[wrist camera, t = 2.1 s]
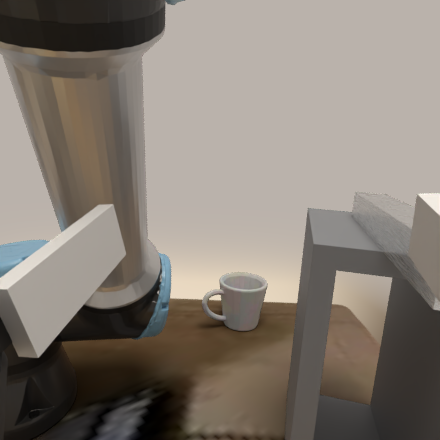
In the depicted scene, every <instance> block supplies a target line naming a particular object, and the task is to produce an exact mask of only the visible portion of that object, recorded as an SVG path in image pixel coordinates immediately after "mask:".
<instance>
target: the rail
mask: <svg viewBox="0 0 440 440" xmlns="http://www.w3.org/2000/svg"><path fill="white" fill-rule="evenodd" d="M414 212H415V207H413V206H411V205H409V204H406V203H404V202H402V201H400V200H397V199H395V198H393V197H391V196H388V195H386V194H375V193H362V192H355V196H354V204H353V210H352V217H353V218H354V219H355V220H356V221H357V222H358V224H359V225H360V226H361V227H362V228H363V229H364V230H365V232H366V233H367V234H368V235H369V236H370V237H371V239H372V240H373V241H374V242H375V243H376V244H377V245H378V247H379V248H380V249H381V250H382V251H383V252H384V254H385V255H386V256H387V257H388V258H389V259H390V260H391V262H392V263H393V264H394V265H395V266H396V267H397V268H398V270H399V271H400V272H401V273H402V274H403V275H404V277H405V278H406V279H407V280H408V281H409V282H410V283H411V285H412V286H413V287H414V288H415V289H416V290H417V292H418V293H419V294H420V295H421V296H422V297H423V298H424V300H425V301H426V302H427V303H428V304H429V305H430V306H431V308H432V309H433V310H440V303H439V301H438V300H437V298H436V297H435V295H434V293H433V292H432V290H431V289H430V287H429V286H428V284H427V283H426V281H425V280H424V278H423V277H422V275H421V274H420V272H419V271H418V269H417V268H416V266H415V264H414V263H413V261H412V260H411V258H410V257H409V255H408V251H409V244H410V238H411V231H412V225H413V218H414Z"/></svg>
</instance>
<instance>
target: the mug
mask: <svg viewBox="0 0 440 440" xmlns="http://www.w3.org/2000/svg"><path fill="white" fill-rule="evenodd" d="M267 285H268V284H267V281H266V280H265V279H264V278H262V277H260V276H258V275H255V274H251V273H244V272H235V273H228V274H225V275H223V276H222V277H221V278H220V290H218V289H216V290H212V291H210V292H208V293H207V294H206V295H205V296H204V298H203V301H202V307H203V310H204V312H205V313H206V314H207V316H209V317H210V318H212V319H215V320H220V321H224V324H225V325H226V326H227V327H229V328H230V329H233V330H237V331H249V330H252V329H254V328H255V327H256V326H257V324H258V320H259V317H260V313H261V309H262V305H263V301H264V297H265V293H266V289H267ZM218 294H219V295H221V301H222V311H223V316H220V315H217V314H214V313H213V312H211V311H210V310H209V308H208V306H207V302H208V300H209V298H210V297H211V296H214V295H218Z"/></svg>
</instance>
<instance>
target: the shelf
mask: <svg viewBox="0 0 440 440" xmlns="http://www.w3.org/2000/svg"><path fill="white" fill-rule="evenodd" d="M336 270H338V271H346V272H353V273H361V274H369V275H378V276H385V277H393V279H392V284H391V291H390V296H389V301H388V307H387V313H386V319H385V324H384V330H383V336H382V342H381V347H380V353H379V359H378V364H377V370H376V376H375V381H374V387H373V393H372V399H371V404H370V405H367V404H362V403H357V402H352V401H348V400H343V399H338V398H333V397H329V396H324V395H319V394H320V386H321V379H322V371H323V364H324V357H325V349H326V342H327V335H328V327H329V320H330V313H331V305H332V298H333V290H334V283H335V276H336ZM285 440H440V310H433V309H432V308H431V306H430V305H429V304H428V303H427V302H426V301H425V300H424V298H423V297H422V296H421V295H420V294H419V293H418V292H417V290H416V289H415V288H414V287H413V286H412V285H411V283H410V282H409V281H408V280H407V279H406V278H405V277H404V275H403V274H402V273H401V272H400V271H399V270H398V268H397V267H396V266H395V265H394V264H393V263H392V262H391V260H390V259H389V258H388V257H387V256H386V255H385V254H384V252H383V251H382V250H381V249H380V248H379V247H378V245H377V244H376V243H375V242H374V241H373V240H372V239H371V237H370V236H369V235H368V234H367V233H366V232H365V230H364V229H363V228H362V227H361V226H360V225H359V224H358V222H357V221H356V220H355V219H354V218H353V217H352V212H345V211H333V210H321V209H311V208H308V213H307V223H306V232H305V240H304V249H303V258H302V267H301V276H300V285H299V293H298V302H297V311H296V320H295V329H294V338H293V347H292V356H291V365H290V374H289V383H288V391H287V405H286V424H285Z"/></svg>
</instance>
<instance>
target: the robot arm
mask: <svg viewBox="0 0 440 440" xmlns="http://www.w3.org/2000/svg"><path fill="white" fill-rule="evenodd" d="M165 1H166V2H167V3H168V4H171V5H175V4H176V3H177V2H180V1H185V0H0V53H1V54H2V55H3V58H4V61H5V64H6V67H7V70H8V73H9V76H10V79H11V82H12V85H13V88H14V91H15V94H16V97H17V100H18V103H19V106H20V109H21V112H22V115H23V118H24V121H25V124H26V127H27V130H28V133H29V136H30V139H31V142H32V145H33V148H34V151H35V154H36V157H37V160H38V162H39V166H40V169H41V172H42V175H43V178H44V181H45V184H46V187H47V190H48V193H49V196H50V199H51V202H52V204H53V208H54V211H55V214H56V216H57V220H58V223H59V226H60V229H61V231H62V233H60V234H59V235H57V236H56V237H55V238H53V239H52V240H51V241H46V240H29V241H21V242H15V243H9V244H5V245H0V440H30V439H32V438H34V437H36V436H38V435H39V434H41V433H43V432H45V431H46V430H48V429H49V428H51V427H52V426H53V425H55V424H56V423H57V422H58V421H59V420H60V419H61V418H62V417H63V416H64V415H65V414H66V413H67V412H68V411H69V409H70V408H71V406H72V405H73V403H74V401H75V398H76V394H77V379H76V373H75V370H74V368H73V367H72V365H71V362H70V360H69V358H68V356H67V354H66V352H65V350H64V348H63V346H62V342H63V341H64V342H65V341H83V340H105V339H127V338H132V339H141V338H142V337H152V336H156V335H158V334H159V333H160V332H161V331H162V330H163V328H164V326H165V323H166V320H167V315H168V303H169V299H170V291H171V265H170V260H169V258H168V257H167V256H166V255H165V254H160V253H158V251H157V249H156V247H155V246H154V245H153V243H152V242H151V241H150V240H149V239H148V235H147V204H146V172H145V140H144V108H143V77H142V56H143V54H144V53H145V52H146V51H147V50H149V49H150V48H151V47H152V46H153V45H154V44H155V43H156V42H157V41H159V40H160V39H161V37H162V36H163V34H164V31H165ZM408 255H409V257H410V258H411V260H412V261H413V263H414V264H415V266H416V268H417V269H418V271H419V272H420V274H421V275H422V277H423V278H424V280H425V281H426V283H427V284H428V286H429V287H430V289H431V290H432V292H433V293H434V295H435V297H436V298H437V300H438V301H439V303H440V194H439V193H431V194H417V199H416V205H415V212H414V218H413V225H412V231H411V238H410V244H409V251H408Z"/></svg>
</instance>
